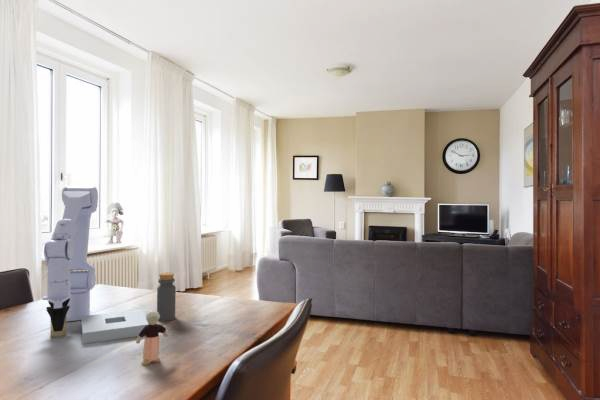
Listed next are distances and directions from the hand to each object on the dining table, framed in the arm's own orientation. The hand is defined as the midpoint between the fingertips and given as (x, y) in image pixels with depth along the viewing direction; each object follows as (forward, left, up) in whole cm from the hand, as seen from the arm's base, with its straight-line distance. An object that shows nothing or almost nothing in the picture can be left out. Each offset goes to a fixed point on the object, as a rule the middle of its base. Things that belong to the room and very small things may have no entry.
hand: (58, 327), depth 119 cm
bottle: (-3, +31, -3) cm, 31 cm away
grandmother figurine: (+32, +21, -3) cm, 38 cm away
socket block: (+2, +15, -2) cm, 15 cm away
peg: (0, 0, -2) cm, 2 cm away
